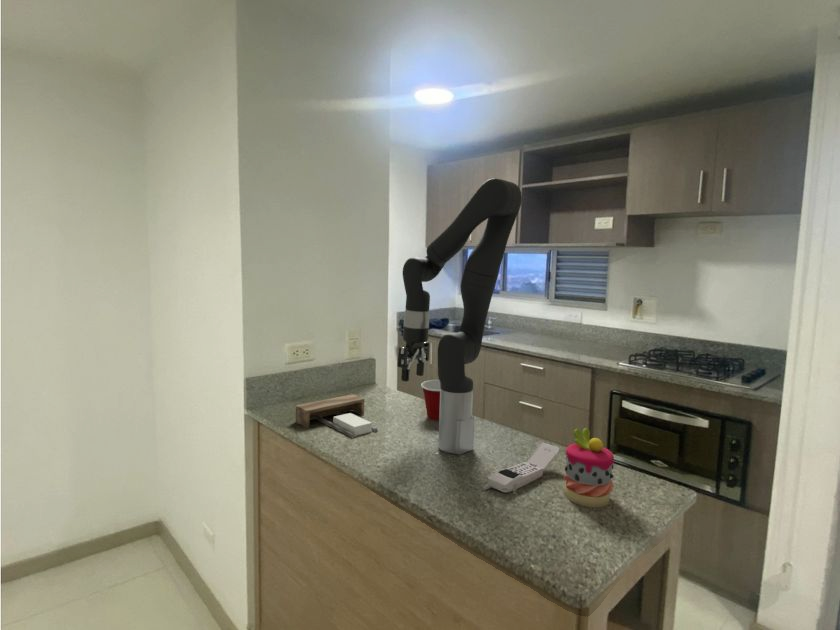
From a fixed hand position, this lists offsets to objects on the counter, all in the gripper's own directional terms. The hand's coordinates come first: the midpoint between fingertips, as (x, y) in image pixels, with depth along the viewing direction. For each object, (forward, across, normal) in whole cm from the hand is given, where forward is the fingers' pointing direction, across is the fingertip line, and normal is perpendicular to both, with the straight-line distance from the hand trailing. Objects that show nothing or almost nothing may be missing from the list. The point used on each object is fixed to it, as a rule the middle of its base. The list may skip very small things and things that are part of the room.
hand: (412, 378), depth 142 cm
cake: (+15, -10, -54) cm, 58 cm away
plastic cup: (+18, +18, 0) cm, 26 cm away
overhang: (+19, -4, +22) cm, 29 cm away
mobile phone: (+16, -10, -39) cm, 43 cm away
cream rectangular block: (+19, -6, +17) cm, 26 cm away
